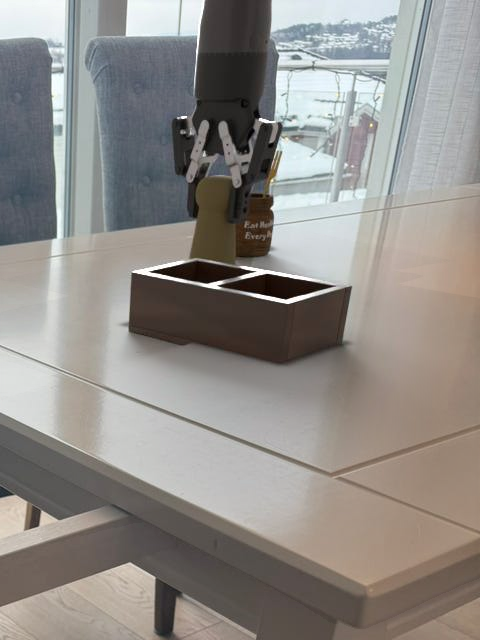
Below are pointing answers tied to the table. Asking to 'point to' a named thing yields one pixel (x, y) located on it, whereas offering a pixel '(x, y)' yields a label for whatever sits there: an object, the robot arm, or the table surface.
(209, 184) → the cork
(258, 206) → the utensil holder
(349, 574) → the table surface
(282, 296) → the holder
